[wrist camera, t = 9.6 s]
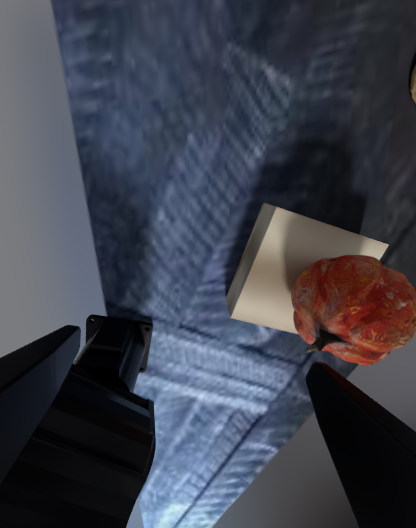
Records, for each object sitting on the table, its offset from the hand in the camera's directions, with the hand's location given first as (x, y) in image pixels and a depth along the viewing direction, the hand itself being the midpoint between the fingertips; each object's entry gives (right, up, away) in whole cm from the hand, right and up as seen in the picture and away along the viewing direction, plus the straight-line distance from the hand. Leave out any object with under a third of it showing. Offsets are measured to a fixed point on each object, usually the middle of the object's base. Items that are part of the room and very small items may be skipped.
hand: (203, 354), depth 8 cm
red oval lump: (+10, +2, +10) cm, 15 cm away
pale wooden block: (+8, +3, +14) cm, 16 cm away
